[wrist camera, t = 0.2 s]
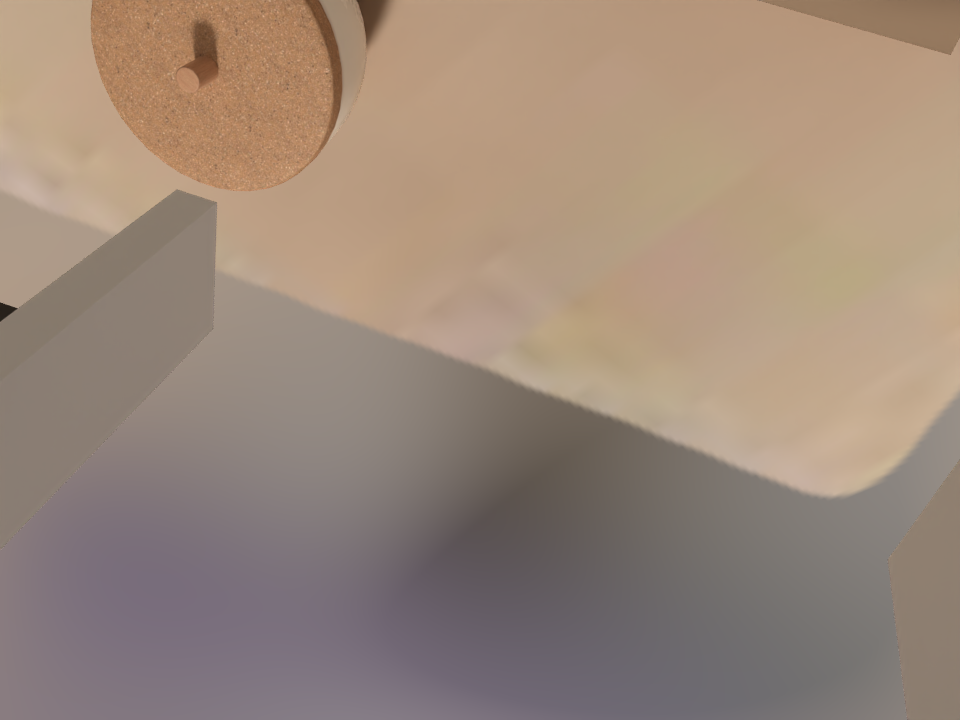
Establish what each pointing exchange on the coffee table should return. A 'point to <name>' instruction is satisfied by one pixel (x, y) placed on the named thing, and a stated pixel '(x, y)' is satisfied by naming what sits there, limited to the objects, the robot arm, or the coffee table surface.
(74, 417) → the robot arm
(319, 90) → the lidded jar
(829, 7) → the hole block
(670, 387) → the coffee table surface
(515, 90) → the coffee table surface
